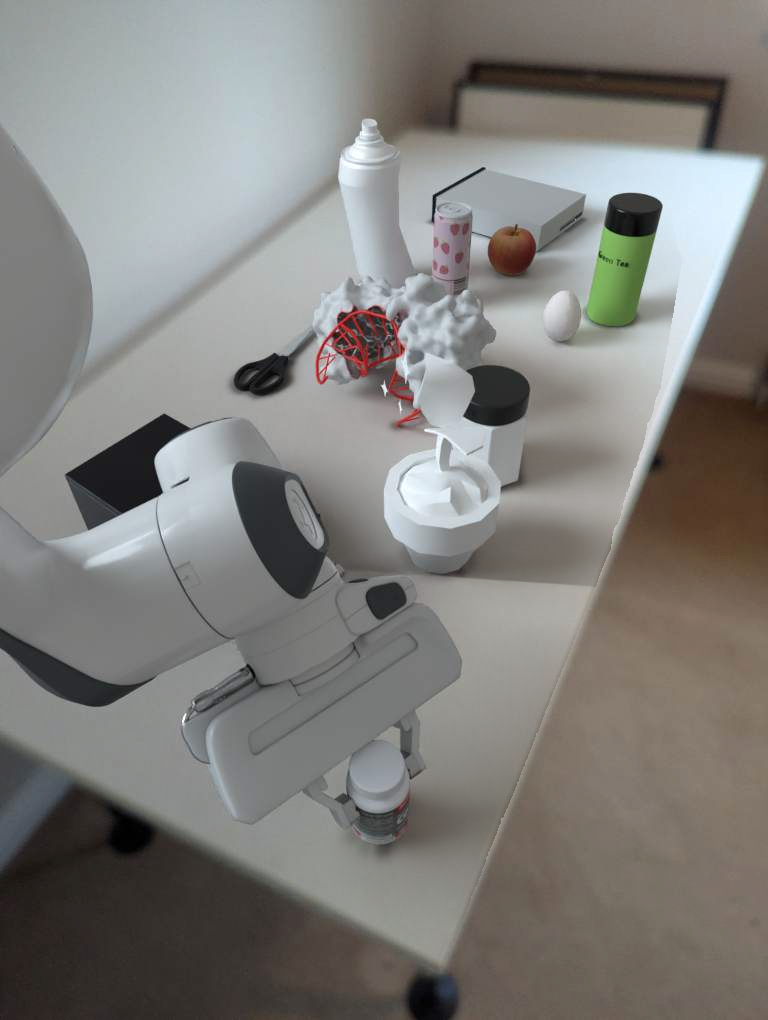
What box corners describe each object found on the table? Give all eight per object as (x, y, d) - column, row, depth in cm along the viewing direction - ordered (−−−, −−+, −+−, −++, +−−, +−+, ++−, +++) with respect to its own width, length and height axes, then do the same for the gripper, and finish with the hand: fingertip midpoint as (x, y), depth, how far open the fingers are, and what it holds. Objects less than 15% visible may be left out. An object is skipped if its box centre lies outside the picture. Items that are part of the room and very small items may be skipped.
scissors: (300, 317, 113) (226, 386, 101) (299, 312, 113) (224, 381, 100) (338, 327, 111) (267, 399, 99) (338, 322, 111) (266, 393, 98)
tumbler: (639, 327, 111) (671, 213, 98) (590, 328, 111) (615, 213, 98) (627, 303, 116) (656, 191, 104) (580, 303, 116) (603, 191, 104)
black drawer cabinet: (271, 533, 81) (259, 467, 74) (181, 606, 74) (159, 540, 67) (182, 478, 88) (164, 412, 81) (92, 540, 80) (64, 474, 74)
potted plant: (380, 517, 82) (375, 319, 65) (483, 511, 83) (506, 312, 65) (389, 607, 73) (386, 404, 56) (504, 599, 74) (537, 396, 56)
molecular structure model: (348, 478, 98) (514, 415, 84) (258, 377, 89) (428, 286, 75) (381, 389, 111) (529, 321, 98) (306, 292, 102) (457, 202, 88)
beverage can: (437, 291, 119) (441, 198, 109) (470, 297, 118) (478, 203, 107) (425, 308, 115) (428, 213, 105) (460, 314, 114) (467, 219, 103)
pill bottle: (409, 846, 56) (411, 798, 50) (347, 845, 56) (342, 797, 50) (408, 786, 60) (410, 734, 54) (350, 785, 60) (346, 734, 54)
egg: (574, 330, 110) (584, 283, 105) (578, 349, 106) (587, 301, 101) (538, 329, 111) (546, 281, 105) (540, 348, 107) (548, 300, 102)
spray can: (369, 309, 115) (364, 140, 98) (335, 282, 122) (324, 119, 104) (429, 289, 120) (434, 123, 102) (393, 264, 126) (392, 104, 109)
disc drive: (480, 192, 148) (482, 166, 145) (582, 218, 138) (587, 192, 135) (431, 221, 138) (431, 194, 135) (537, 253, 129) (540, 225, 125)
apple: (517, 256, 128) (522, 211, 122) (542, 276, 122) (549, 229, 117) (476, 266, 125) (480, 219, 120) (500, 286, 120) (505, 239, 115)
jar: (450, 442, 92) (455, 360, 83) (515, 445, 91) (527, 363, 83) (449, 491, 85) (455, 408, 77) (520, 494, 85) (533, 410, 76)
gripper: (177, 718, 46) (277, 905, 47) (427, 566, 55) (505, 727, 56) (161, 706, 52) (251, 873, 53) (390, 570, 60) (462, 716, 62)
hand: (384, 796), depth 54 cm, fingers closed on pill bottle, 5 cm apart
